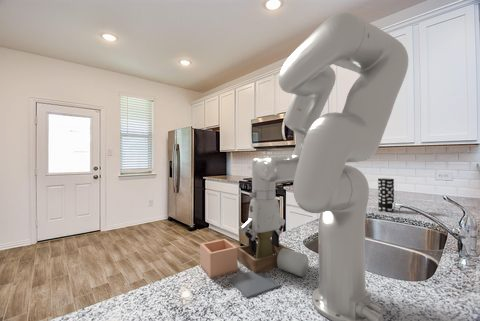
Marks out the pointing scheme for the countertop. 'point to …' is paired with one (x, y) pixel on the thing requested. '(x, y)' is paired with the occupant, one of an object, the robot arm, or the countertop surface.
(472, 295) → the countertop surface
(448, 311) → the countertop surface
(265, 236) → the pepper shaker
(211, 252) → the copper open box
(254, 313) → the countertop surface
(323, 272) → the robot arm
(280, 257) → the white plastic tumbler
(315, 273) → the countertop surface
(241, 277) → the slate coaster
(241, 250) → the walnut open frame
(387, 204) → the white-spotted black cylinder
